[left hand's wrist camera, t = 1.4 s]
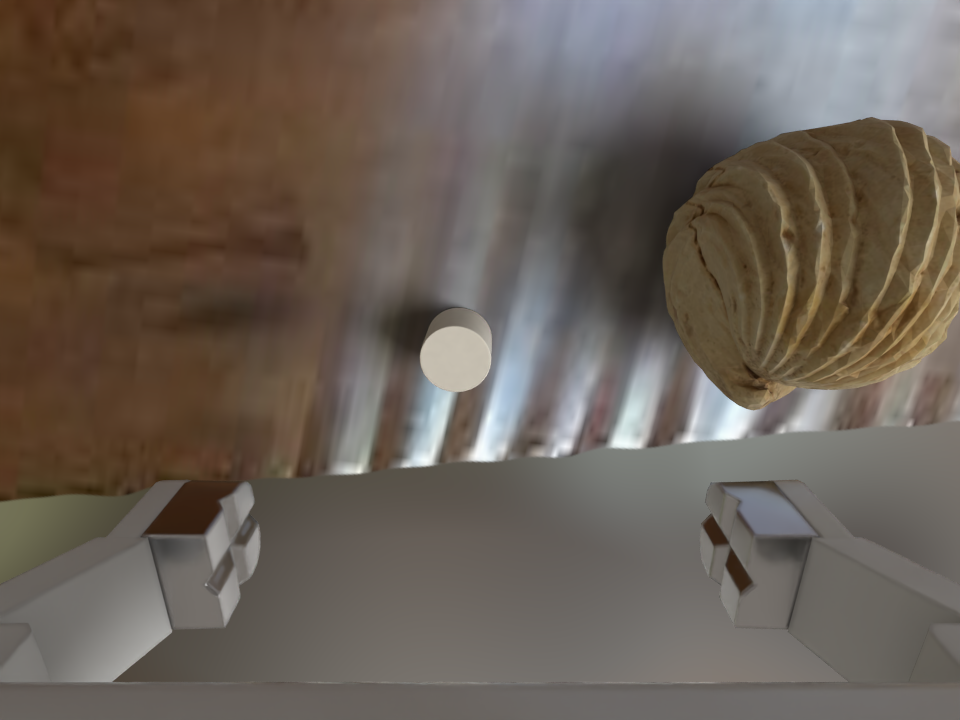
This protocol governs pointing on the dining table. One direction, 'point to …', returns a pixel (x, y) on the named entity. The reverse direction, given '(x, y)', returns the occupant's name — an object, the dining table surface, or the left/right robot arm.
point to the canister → (457, 350)
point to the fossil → (817, 260)
